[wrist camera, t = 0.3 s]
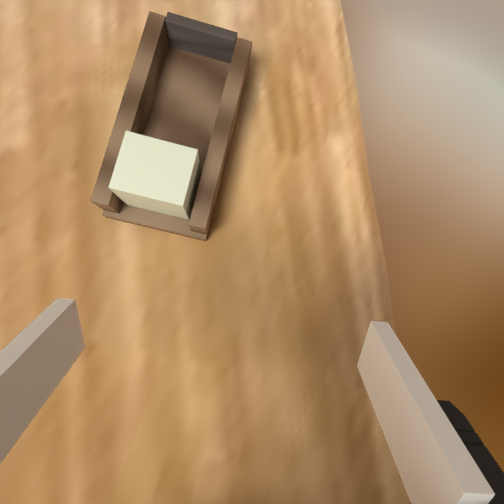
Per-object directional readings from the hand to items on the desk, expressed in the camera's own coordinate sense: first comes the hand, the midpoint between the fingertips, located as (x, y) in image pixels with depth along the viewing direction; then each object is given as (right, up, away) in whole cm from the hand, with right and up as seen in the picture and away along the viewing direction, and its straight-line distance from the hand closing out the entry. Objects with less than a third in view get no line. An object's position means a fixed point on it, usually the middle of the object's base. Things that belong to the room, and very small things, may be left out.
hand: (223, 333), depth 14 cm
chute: (-6, +16, +18) cm, 24 cm away
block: (-7, +10, +16) cm, 20 cm away
